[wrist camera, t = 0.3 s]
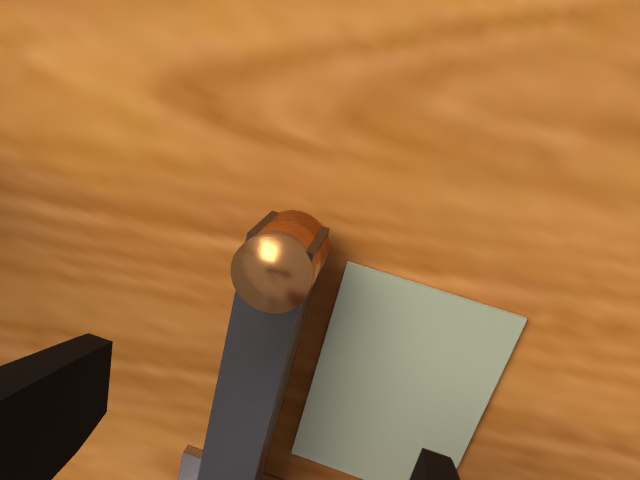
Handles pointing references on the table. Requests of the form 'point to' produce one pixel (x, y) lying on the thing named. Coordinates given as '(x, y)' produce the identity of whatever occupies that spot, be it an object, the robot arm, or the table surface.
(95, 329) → the table surface
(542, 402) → the table surface
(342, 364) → the plate
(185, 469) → the pivot plate
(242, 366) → the grey copper-tipped rod
